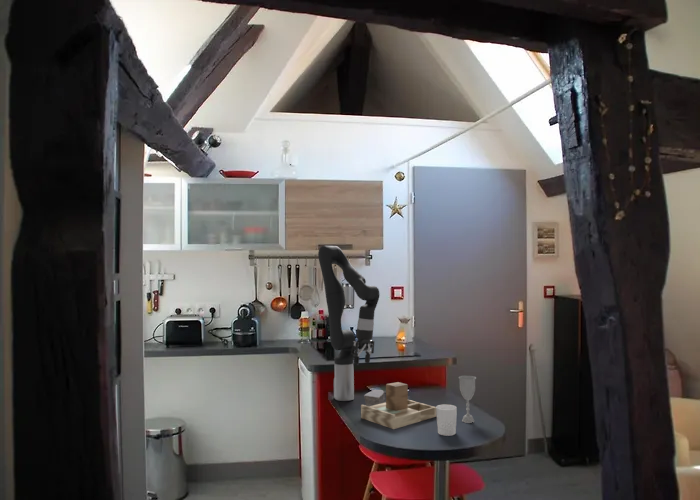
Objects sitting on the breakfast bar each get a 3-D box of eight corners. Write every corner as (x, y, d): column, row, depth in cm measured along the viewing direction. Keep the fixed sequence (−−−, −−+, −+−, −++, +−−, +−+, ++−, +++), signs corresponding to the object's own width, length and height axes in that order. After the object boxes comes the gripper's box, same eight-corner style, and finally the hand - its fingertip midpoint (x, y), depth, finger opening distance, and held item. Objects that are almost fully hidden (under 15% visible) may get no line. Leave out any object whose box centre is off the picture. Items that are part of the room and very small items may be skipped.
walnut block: (385, 407, 225) (386, 384, 225) (397, 405, 229) (397, 382, 230) (395, 410, 220) (395, 386, 221) (407, 408, 225) (407, 384, 225)
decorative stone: (365, 413, 233) (387, 411, 234) (364, 397, 234) (387, 396, 234) (363, 404, 248) (384, 403, 248) (362, 389, 248) (383, 388, 249)
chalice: (477, 419, 221) (477, 376, 221) (476, 424, 214) (475, 379, 215) (460, 418, 223) (459, 375, 223) (458, 422, 217) (457, 378, 217)
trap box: (361, 417, 225) (360, 405, 225) (402, 406, 241) (402, 394, 241) (393, 429, 210) (393, 415, 210) (436, 416, 226) (435, 403, 226)
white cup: (434, 430, 208) (433, 404, 208) (453, 429, 208) (453, 403, 209) (439, 437, 200) (438, 410, 200) (459, 436, 201) (459, 409, 201)
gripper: (367, 326, 252) (364, 360, 252) (349, 327, 241) (345, 363, 240) (380, 329, 248) (377, 363, 247) (362, 330, 236) (358, 366, 236)
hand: (361, 363), depth 244 cm, fingers open, 8 cm apart
